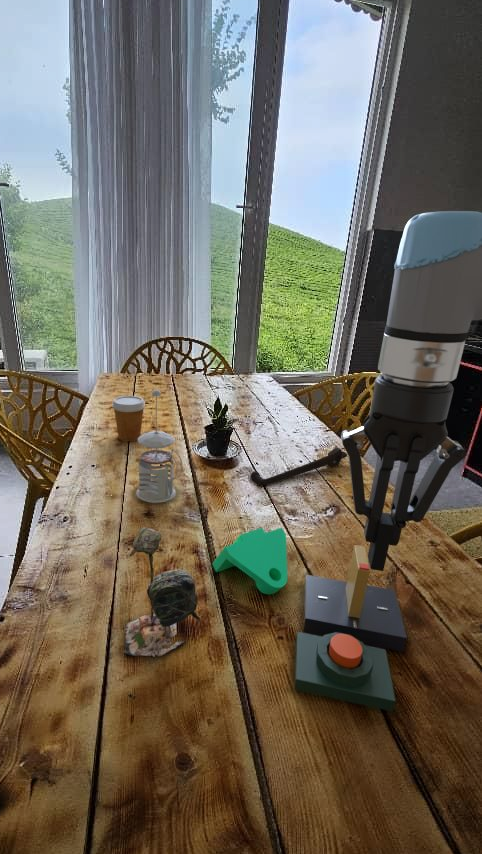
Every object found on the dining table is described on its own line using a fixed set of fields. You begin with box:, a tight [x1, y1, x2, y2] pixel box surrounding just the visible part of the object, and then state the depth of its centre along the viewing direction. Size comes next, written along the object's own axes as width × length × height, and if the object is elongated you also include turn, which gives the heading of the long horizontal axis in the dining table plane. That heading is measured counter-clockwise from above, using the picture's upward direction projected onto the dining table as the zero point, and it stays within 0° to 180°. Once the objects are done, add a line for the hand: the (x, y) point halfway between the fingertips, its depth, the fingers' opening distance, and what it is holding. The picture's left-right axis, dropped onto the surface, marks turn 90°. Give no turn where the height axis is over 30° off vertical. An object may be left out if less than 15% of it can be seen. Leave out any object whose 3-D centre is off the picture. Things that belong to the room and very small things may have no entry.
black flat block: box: [302, 574, 408, 653], centre depth 68 cm, size 14×10×3 cm
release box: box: [293, 631, 397, 712], centre depth 59 cm, size 12×8×4 cm, turn 77°
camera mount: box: [211, 527, 288, 595], centre depth 76 cm, size 12×8×10 cm
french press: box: [135, 389, 183, 504], centre depth 97 cm, size 10×12×25 cm
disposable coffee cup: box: [111, 395, 146, 442], centre depth 131 cm, size 10×10×12 cm
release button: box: [329, 634, 363, 668], centre depth 58 cm, size 4×4×2 cm
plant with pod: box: [123, 526, 202, 658], centre depth 60 cm, size 8×11×20 cm
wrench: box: [250, 446, 348, 486], centre depth 116 cm, size 5×5×30 cm
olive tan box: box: [346, 544, 371, 618], centre depth 66 cm, size 6×2×9 cm, turn 167°
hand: (375, 563), depth 55 cm, fingers closed
